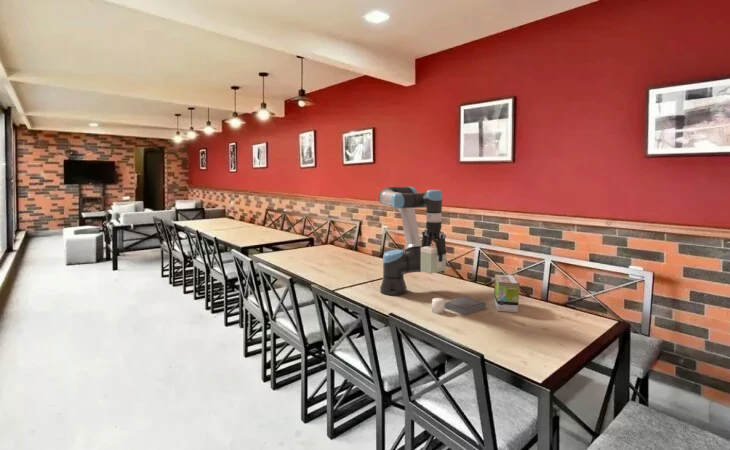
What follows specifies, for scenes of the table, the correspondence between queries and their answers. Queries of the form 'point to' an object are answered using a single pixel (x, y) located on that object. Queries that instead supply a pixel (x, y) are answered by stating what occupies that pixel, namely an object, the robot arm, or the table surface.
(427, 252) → the carton
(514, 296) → the tea box
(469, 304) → the podium
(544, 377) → the table surface
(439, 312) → the cream rounded domed part
